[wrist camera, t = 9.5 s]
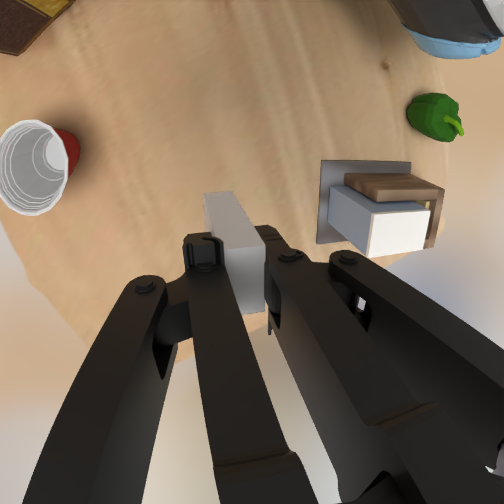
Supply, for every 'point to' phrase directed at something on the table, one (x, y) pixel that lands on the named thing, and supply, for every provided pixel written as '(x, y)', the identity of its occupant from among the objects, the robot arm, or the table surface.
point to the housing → (377, 191)
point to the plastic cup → (35, 166)
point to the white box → (377, 222)
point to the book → (26, 22)
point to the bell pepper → (435, 116)
